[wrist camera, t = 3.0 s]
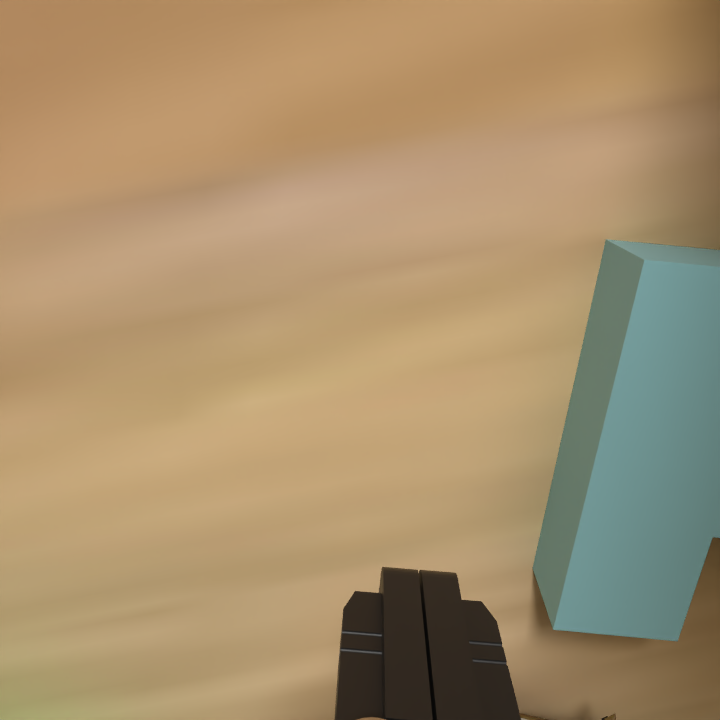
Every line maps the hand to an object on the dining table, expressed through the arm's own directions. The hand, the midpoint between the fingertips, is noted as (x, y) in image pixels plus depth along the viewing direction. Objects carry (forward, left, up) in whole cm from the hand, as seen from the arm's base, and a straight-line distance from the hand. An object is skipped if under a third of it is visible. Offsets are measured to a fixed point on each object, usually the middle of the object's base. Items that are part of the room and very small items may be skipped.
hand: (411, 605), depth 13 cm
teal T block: (0, +11, -9) cm, 14 cm away
